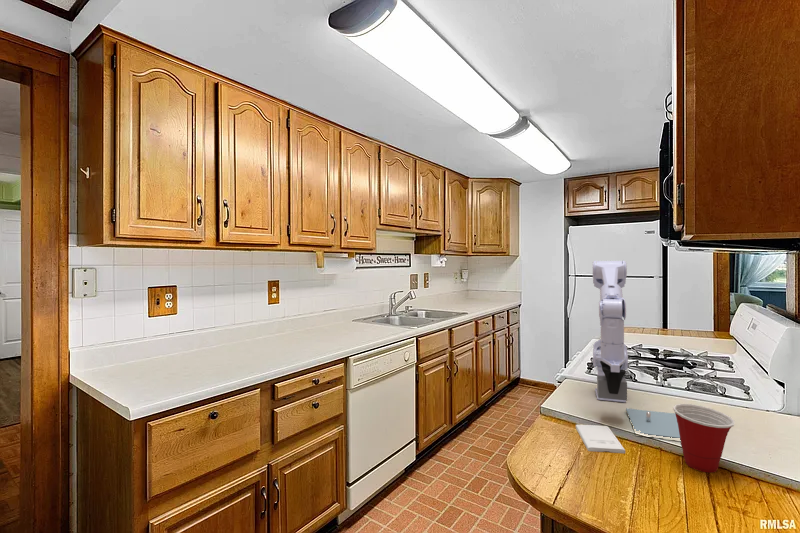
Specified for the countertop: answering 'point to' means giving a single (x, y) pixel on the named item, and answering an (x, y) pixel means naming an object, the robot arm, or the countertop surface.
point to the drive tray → (654, 422)
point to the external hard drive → (599, 439)
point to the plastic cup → (702, 435)
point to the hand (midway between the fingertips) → (612, 390)
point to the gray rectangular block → (604, 393)
